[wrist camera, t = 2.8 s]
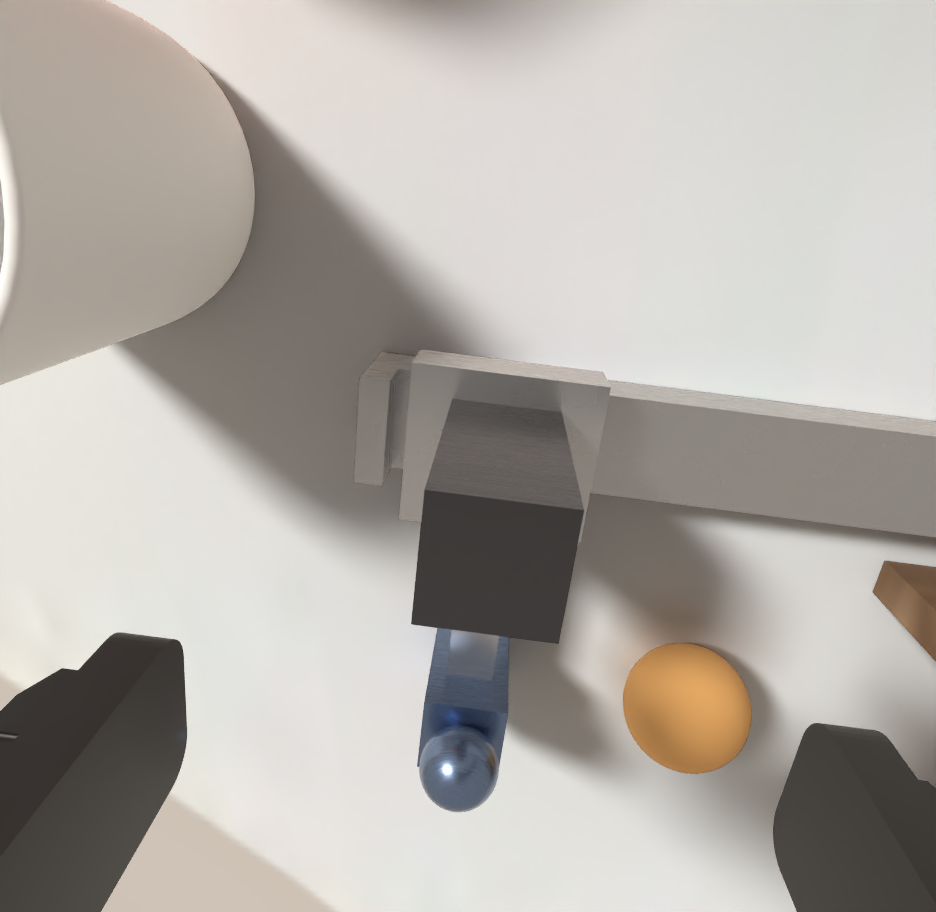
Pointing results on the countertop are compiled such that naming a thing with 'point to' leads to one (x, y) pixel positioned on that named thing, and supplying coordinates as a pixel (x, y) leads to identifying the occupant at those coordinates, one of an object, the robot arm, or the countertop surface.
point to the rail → (716, 453)
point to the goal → (911, 599)
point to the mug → (109, 181)
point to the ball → (687, 708)
